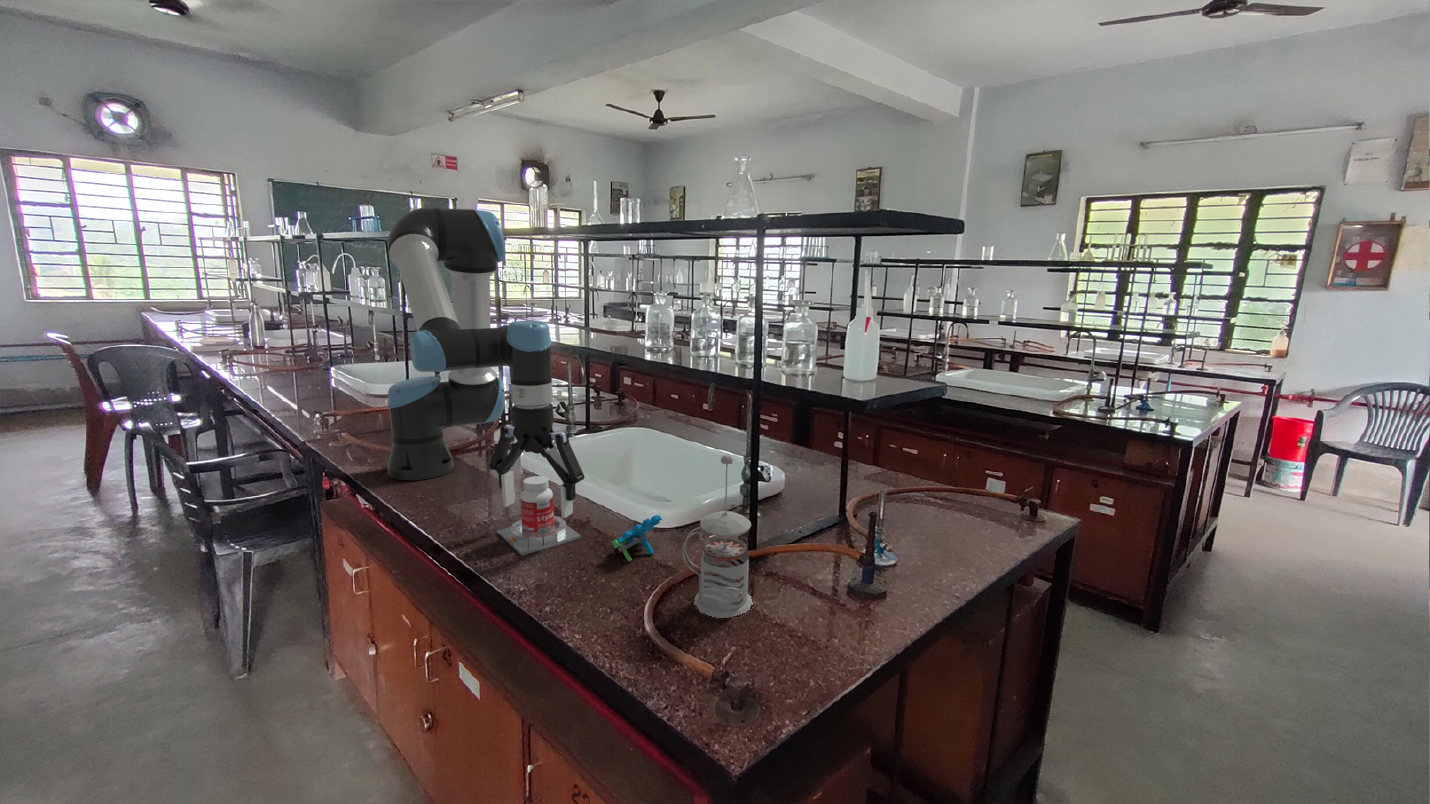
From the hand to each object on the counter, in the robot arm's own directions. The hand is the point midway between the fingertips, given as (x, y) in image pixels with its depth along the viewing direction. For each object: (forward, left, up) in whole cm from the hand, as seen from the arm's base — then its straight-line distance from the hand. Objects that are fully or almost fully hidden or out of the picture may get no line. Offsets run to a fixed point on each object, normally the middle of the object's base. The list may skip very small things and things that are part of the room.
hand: (537, 509), depth 122 cm
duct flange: (0, 0, -6) cm, 6 cm away
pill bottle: (0, 0, -5) cm, 5 cm away
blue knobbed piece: (+17, +12, -6) cm, 21 cm away
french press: (+40, +13, -6) cm, 42 cm away
